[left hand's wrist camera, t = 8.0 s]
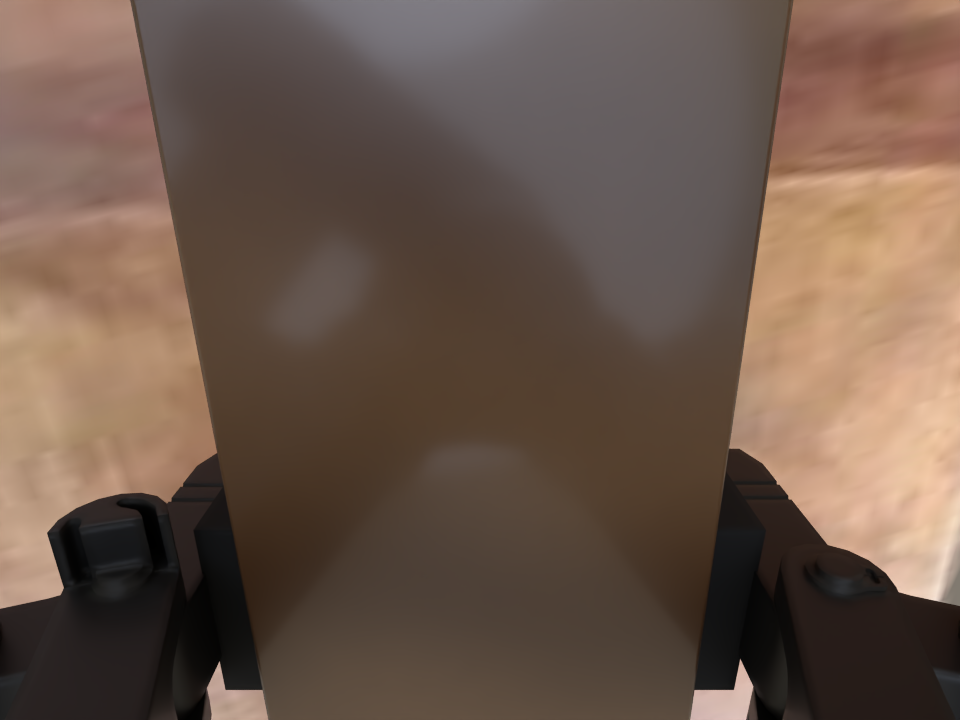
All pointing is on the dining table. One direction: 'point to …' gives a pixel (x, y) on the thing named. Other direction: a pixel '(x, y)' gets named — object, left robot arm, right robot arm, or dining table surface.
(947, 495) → the dining table surface
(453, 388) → the post
